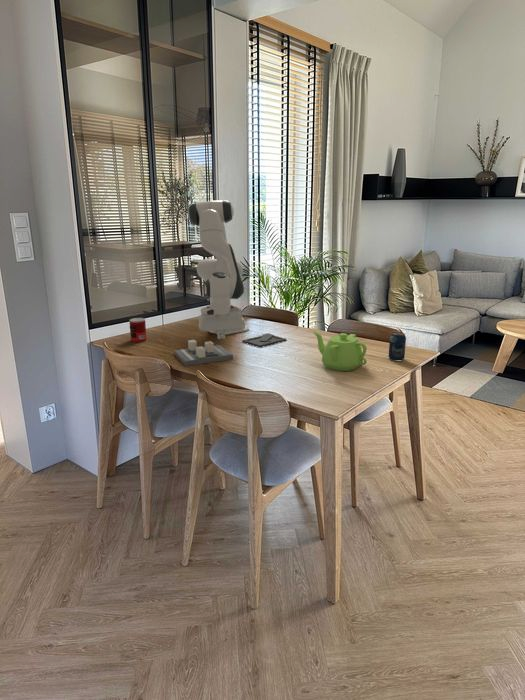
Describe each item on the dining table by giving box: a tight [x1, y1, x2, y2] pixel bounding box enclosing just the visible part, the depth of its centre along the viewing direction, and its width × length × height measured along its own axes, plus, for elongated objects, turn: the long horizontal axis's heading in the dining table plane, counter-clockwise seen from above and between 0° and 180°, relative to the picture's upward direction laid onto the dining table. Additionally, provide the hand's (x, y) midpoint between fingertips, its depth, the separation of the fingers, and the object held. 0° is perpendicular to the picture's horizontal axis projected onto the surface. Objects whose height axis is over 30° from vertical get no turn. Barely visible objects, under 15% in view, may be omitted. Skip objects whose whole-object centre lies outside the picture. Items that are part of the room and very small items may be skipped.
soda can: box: [388, 331, 407, 361], centre depth 217 cm, size 7×7×12 cm
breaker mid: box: [204, 340, 215, 353], centre depth 223 cm, size 3×4×4 cm
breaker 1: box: [187, 339, 198, 351], centre depth 226 cm, size 3×4×4 cm
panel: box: [173, 344, 234, 367], centre depth 223 cm, size 22×18×2 cm
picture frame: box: [241, 333, 287, 348], centre depth 247 cm, size 13×2×18 cm
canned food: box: [129, 317, 147, 343], centre depth 249 cm, size 8×8×11 cm
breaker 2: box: [196, 345, 205, 358], centre depth 216 cm, size 3×4×4 cm
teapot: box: [312, 331, 368, 372], centre depth 208 cm, size 19×20×14 cm
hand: (221, 338), depth 224 cm, fingers closed
